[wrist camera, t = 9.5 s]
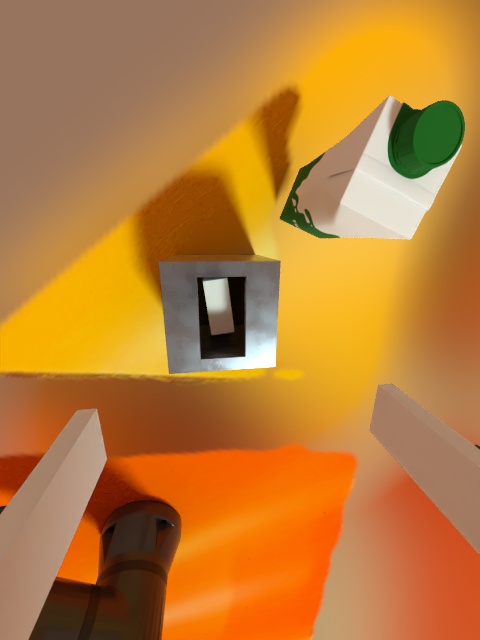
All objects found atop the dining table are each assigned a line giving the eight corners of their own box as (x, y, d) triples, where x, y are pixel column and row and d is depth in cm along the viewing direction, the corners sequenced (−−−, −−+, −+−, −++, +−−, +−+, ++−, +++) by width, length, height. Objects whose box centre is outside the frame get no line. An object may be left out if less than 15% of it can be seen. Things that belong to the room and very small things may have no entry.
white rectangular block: (202, 273, 37) (202, 281, 30) (222, 270, 38) (227, 278, 30) (209, 317, 40) (211, 335, 32) (228, 314, 40) (234, 331, 32)
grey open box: (253, 329, 41) (275, 366, 29) (179, 332, 40) (169, 373, 27) (255, 254, 38) (280, 261, 25) (173, 254, 36) (158, 262, 24)
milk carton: (348, 186, 37) (502, 129, 18) (320, 246, 39) (433, 251, 20) (296, 158, 35) (409, 60, 16) (270, 223, 37) (342, 204, 18)
